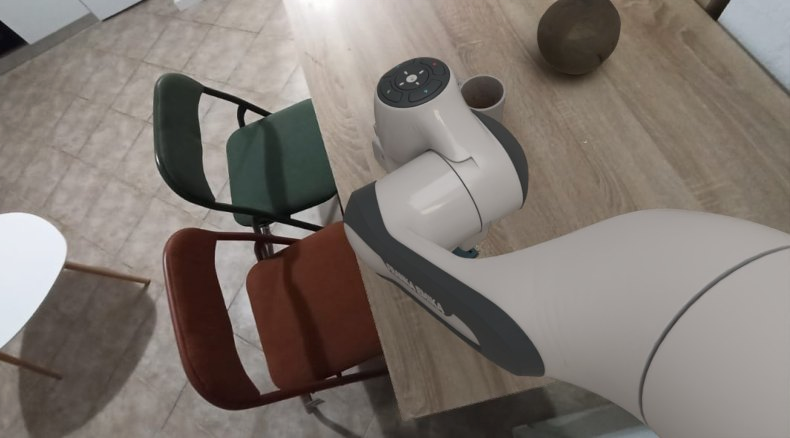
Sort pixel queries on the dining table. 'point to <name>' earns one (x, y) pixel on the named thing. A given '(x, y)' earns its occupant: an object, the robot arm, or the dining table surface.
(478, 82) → the mug
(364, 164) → the dining table surface
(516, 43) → the dining table surface
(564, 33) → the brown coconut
